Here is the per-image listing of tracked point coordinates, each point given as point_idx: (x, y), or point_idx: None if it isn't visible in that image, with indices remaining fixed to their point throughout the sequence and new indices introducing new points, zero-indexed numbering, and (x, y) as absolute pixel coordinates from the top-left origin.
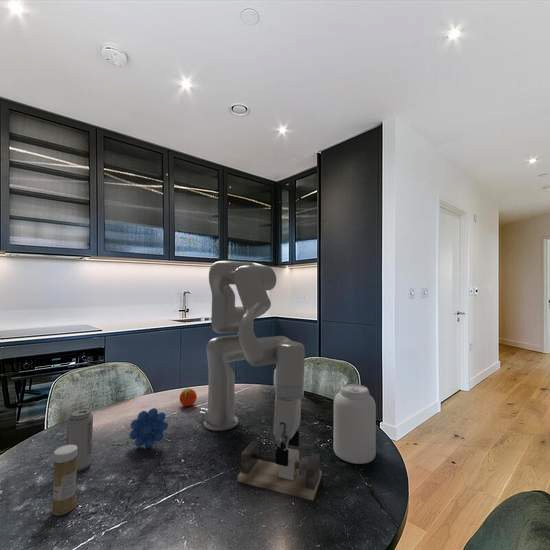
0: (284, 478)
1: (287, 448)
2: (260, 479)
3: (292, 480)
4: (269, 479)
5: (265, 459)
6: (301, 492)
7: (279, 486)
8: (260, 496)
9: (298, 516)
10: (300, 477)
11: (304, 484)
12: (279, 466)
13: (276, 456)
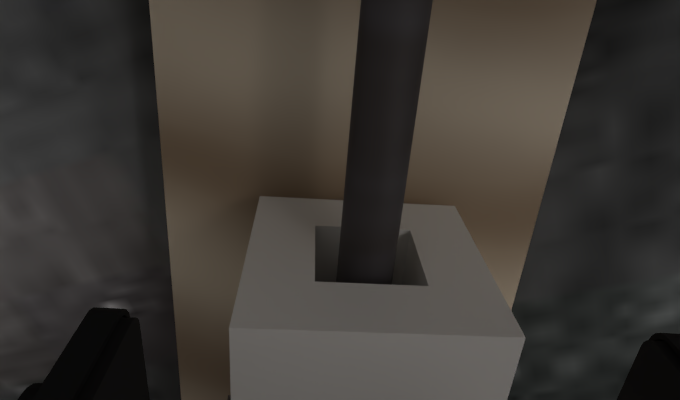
0: None
1: (505, 372)
2: (179, 9)
3: None
4: (217, 107)
5: (359, 34)
6: (180, 372)
7: (170, 217)
8: (49, 57)
9: (11, 360)
10: None
11: None
12: (246, 261)
13: (48, 396)
